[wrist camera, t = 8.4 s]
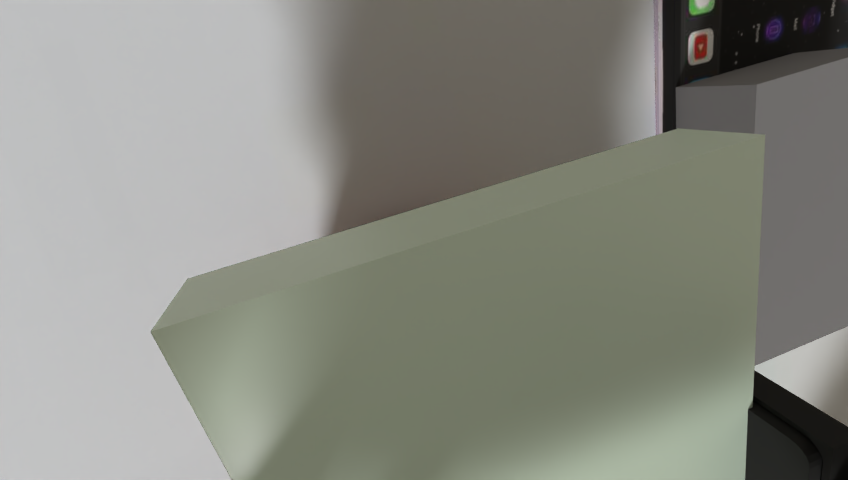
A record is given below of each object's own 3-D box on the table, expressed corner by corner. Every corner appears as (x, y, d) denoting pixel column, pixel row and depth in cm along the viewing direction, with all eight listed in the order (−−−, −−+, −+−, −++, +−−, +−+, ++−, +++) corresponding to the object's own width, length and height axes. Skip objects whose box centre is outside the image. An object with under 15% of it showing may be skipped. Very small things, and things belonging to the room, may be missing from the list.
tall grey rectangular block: (672, 87, 15) (756, 84, 12) (790, 53, 16) (894, 43, 13) (677, 329, 18) (743, 370, 16) (773, 291, 19) (851, 324, 16)
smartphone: (658, -47, 13) (1014, -116, 16) (644, -42, 14) (990, -109, 16) (660, 190, 16) (962, 99, 18) (648, 186, 16) (943, 99, 19)
